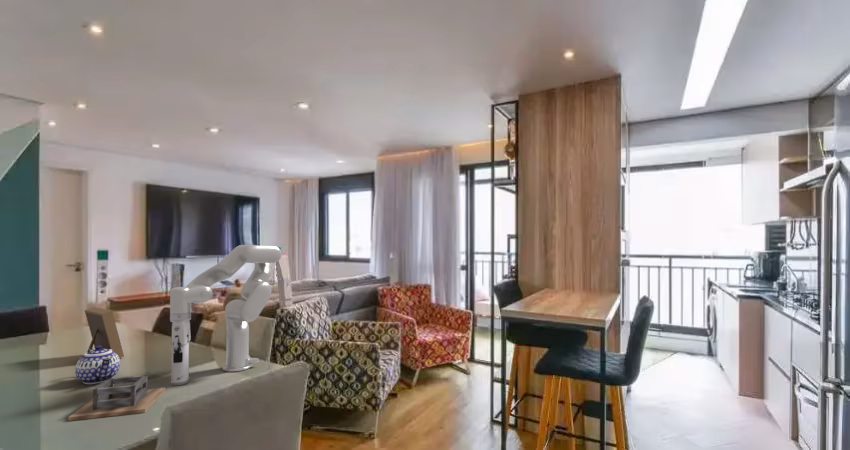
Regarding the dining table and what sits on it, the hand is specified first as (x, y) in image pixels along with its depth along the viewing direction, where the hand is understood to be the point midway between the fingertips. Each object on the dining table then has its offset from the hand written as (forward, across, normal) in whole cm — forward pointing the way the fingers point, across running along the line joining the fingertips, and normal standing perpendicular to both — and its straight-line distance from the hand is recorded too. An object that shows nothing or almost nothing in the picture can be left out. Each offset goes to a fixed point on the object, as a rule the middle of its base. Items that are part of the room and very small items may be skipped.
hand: (180, 359), depth 170 cm
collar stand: (+10, -18, +14) cm, 25 cm away
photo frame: (+10, +55, +51) cm, 76 cm away
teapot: (+10, +16, +35) cm, 40 cm away
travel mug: (+10, 0, 0) cm, 10 cm away
